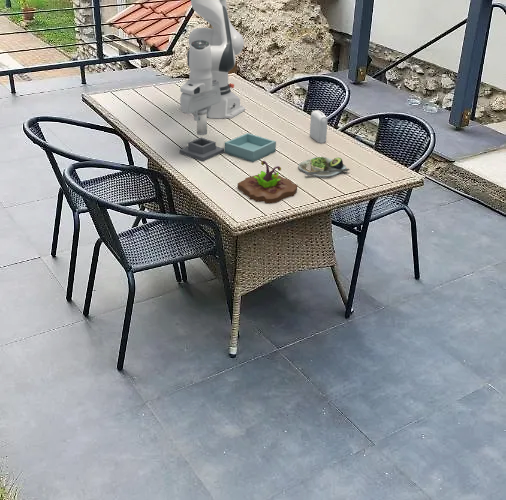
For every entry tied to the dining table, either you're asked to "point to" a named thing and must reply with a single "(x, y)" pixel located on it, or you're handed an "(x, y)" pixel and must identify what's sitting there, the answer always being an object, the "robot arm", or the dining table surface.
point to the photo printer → (318, 126)
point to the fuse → (202, 122)
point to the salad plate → (323, 167)
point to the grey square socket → (201, 149)
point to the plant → (267, 186)
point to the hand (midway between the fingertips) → (201, 118)
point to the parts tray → (250, 147)
